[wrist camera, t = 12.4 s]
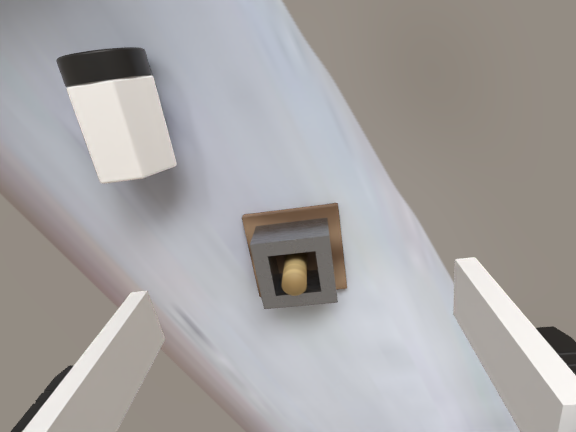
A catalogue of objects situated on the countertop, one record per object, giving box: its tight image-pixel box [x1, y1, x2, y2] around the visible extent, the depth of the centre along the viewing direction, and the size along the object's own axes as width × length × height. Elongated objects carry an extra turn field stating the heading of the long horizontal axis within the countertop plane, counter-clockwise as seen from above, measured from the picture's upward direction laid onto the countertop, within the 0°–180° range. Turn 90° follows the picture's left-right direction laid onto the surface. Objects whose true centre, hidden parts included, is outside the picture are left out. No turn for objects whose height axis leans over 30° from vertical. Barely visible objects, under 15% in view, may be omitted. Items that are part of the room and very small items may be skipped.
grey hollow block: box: [250, 218, 338, 309], centre depth 44 cm, size 9×9×5 cm
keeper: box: [242, 203, 347, 297], centre depth 43 cm, size 12×12×8 cm
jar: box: [57, 47, 177, 184], centre depth 37 cm, size 9×8×12 cm
